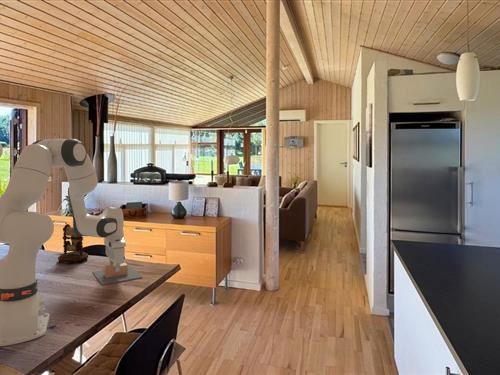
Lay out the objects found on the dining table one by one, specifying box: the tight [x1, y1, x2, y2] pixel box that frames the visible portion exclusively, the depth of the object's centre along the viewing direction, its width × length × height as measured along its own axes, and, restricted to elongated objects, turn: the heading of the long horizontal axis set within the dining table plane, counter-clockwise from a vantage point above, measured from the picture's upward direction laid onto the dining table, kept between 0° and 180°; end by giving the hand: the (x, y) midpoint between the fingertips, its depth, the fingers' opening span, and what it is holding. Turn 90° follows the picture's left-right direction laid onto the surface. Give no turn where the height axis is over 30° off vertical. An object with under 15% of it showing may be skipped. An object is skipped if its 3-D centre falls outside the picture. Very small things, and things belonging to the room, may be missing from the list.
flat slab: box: [92, 265, 143, 286], centre depth 171 cm, size 20×18×1 cm
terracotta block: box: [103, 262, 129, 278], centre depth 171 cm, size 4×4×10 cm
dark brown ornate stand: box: [57, 223, 89, 264], centre depth 192 cm, size 15×15×20 cm
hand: (114, 268), depth 170 cm, fingers open, 8 cm apart
